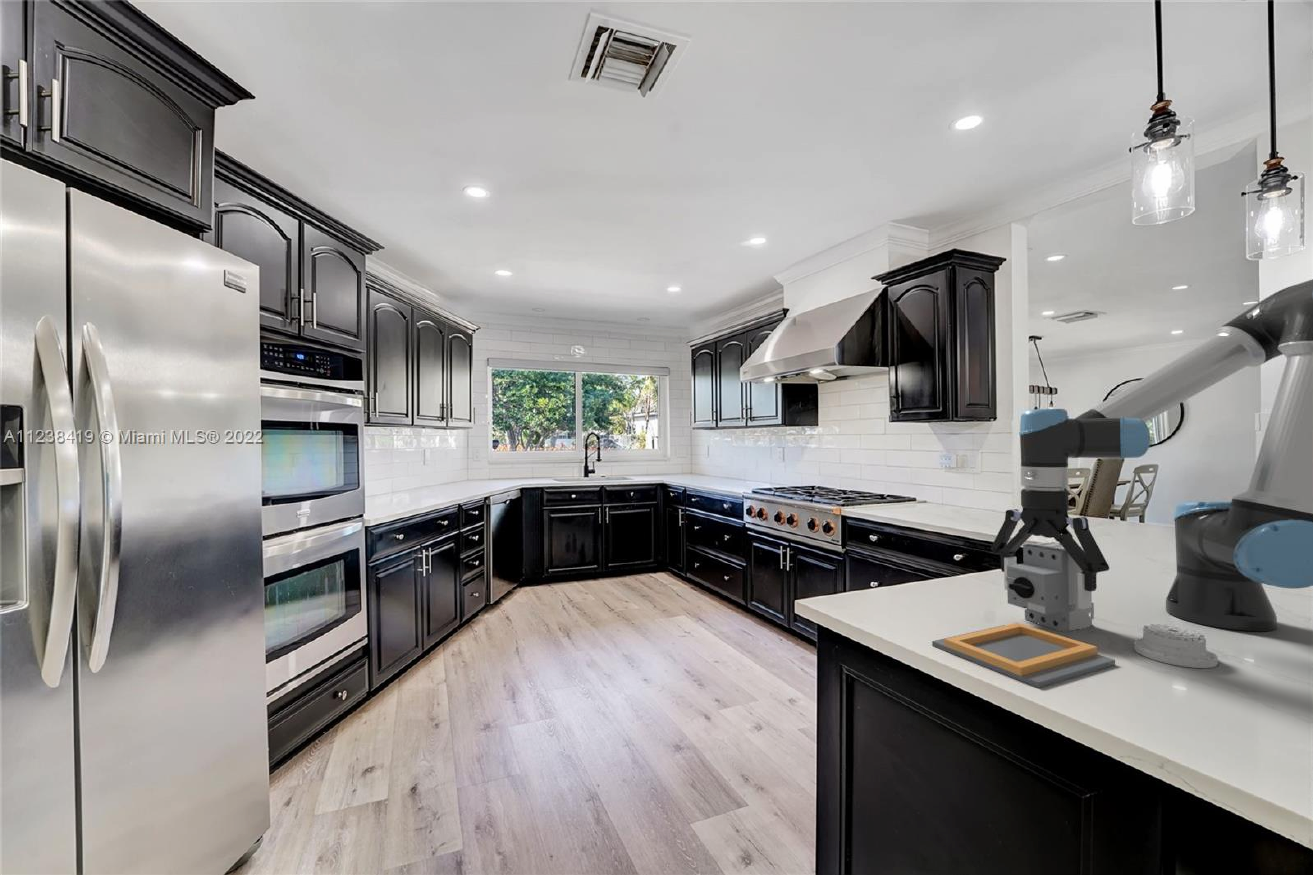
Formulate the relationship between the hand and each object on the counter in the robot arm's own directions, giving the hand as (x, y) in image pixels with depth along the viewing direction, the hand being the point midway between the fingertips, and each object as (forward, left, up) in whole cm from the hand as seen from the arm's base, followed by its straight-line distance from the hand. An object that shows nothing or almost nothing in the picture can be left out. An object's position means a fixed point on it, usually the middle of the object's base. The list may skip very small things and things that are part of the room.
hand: (1045, 598), depth 104 cm
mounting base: (+19, +7, -5) cm, 21 cm away
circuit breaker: (0, 0, -5) cm, 5 cm away
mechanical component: (-3, +18, -6) cm, 19 cm away
